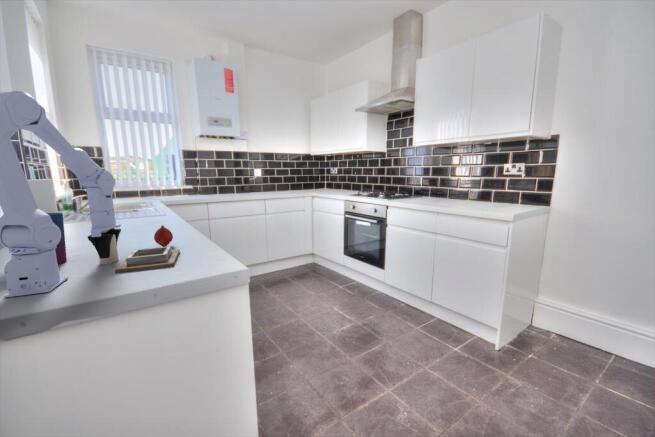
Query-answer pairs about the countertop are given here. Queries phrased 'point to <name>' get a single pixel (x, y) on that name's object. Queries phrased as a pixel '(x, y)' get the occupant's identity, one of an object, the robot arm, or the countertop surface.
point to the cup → (61, 247)
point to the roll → (111, 253)
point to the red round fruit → (163, 236)
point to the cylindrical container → (44, 194)
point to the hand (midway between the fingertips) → (108, 255)
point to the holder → (149, 259)
